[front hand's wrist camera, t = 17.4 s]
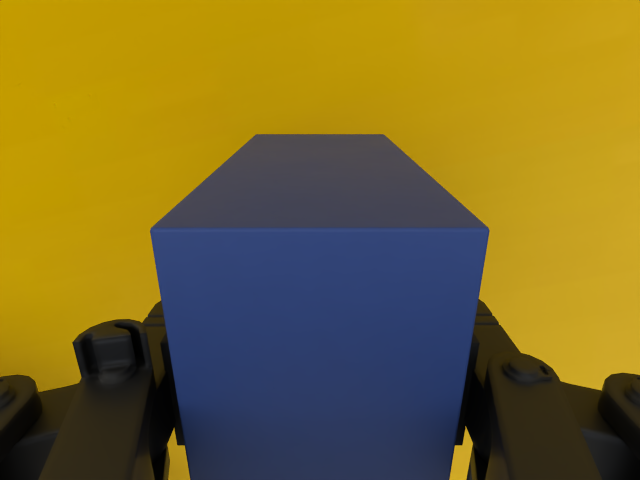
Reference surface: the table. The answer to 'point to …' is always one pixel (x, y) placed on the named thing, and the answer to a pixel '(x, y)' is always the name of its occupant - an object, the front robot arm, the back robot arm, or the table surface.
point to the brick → (319, 312)
